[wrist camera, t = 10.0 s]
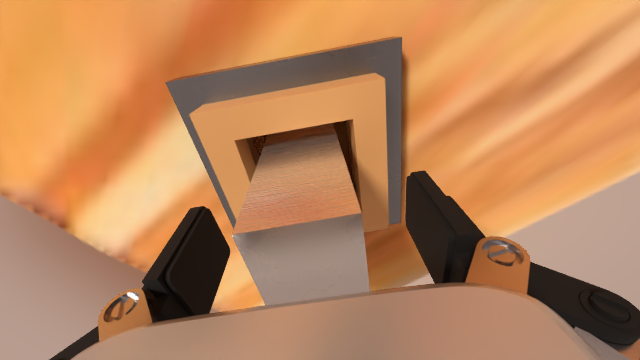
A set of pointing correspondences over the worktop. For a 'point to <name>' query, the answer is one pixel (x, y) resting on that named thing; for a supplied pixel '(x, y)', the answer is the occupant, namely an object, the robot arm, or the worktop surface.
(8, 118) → the worktop surface
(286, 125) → the square socket base
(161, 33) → the worktop surface
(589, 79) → the worktop surface
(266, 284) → the block
